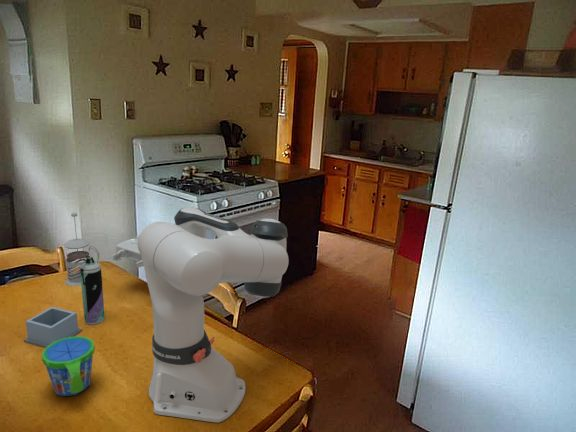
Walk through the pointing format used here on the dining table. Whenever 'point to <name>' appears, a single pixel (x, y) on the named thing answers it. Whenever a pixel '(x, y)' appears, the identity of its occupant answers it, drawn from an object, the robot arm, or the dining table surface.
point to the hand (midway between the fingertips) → (124, 261)
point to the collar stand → (51, 327)
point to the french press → (75, 277)
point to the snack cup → (69, 364)
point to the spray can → (92, 292)
